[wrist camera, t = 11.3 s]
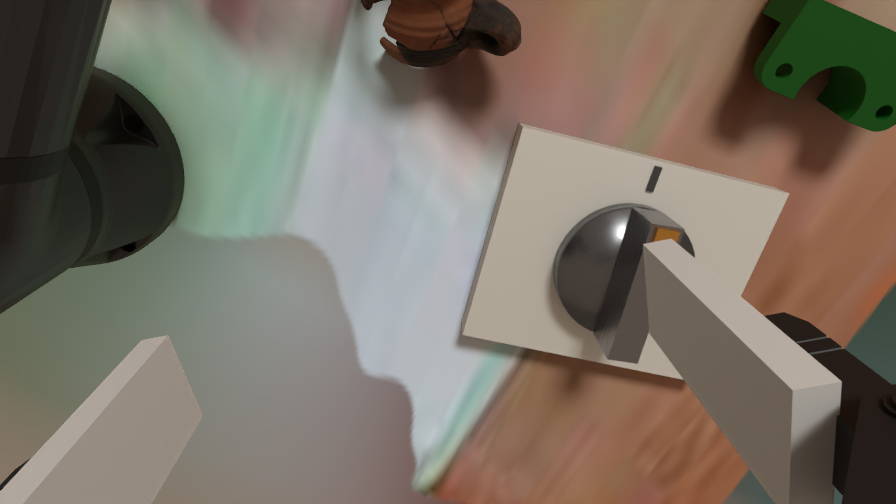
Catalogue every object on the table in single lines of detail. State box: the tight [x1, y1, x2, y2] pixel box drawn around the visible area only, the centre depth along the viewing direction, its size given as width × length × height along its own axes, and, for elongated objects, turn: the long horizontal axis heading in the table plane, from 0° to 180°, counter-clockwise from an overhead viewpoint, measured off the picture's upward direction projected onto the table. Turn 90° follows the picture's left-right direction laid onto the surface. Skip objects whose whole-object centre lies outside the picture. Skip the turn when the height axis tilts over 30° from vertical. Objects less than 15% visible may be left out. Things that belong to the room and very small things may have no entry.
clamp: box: [754, 0, 896, 131], centre depth 41 cm, size 12×6×9 cm, turn 63°
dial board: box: [461, 123, 789, 380], centre depth 47 cm, size 22×18×2 cm
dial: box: [553, 203, 695, 364], centre depth 44 cm, size 11×11×6 cm
